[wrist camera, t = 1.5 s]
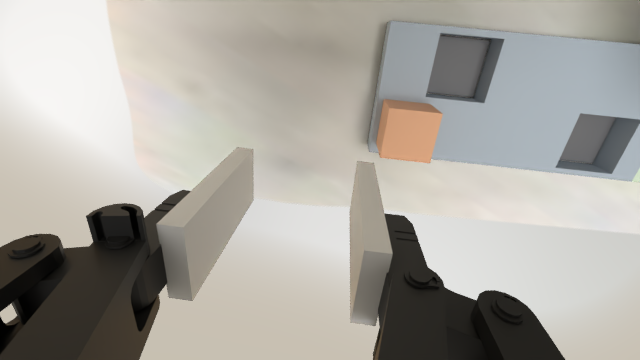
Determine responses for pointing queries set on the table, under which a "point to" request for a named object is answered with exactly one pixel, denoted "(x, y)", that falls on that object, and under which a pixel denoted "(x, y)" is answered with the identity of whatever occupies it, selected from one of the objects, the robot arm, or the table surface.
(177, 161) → the table surface
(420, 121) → the block
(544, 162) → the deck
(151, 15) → the table surface
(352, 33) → the table surface
